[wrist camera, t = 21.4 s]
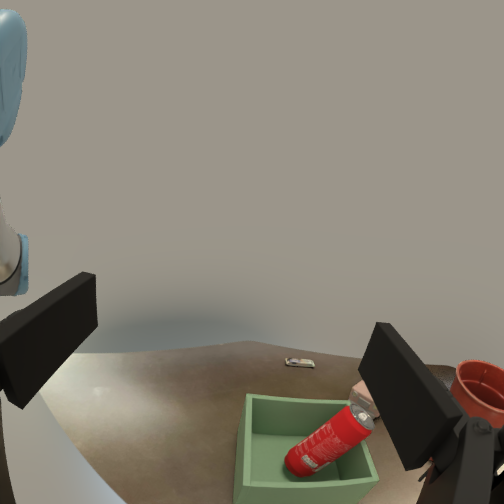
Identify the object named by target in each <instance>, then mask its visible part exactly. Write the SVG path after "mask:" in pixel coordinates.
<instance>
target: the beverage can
mask: <svg viewBox="0 0 504 504" xmlns="http://www.w3.org/2000/svg"><path fill="white" fill-rule="evenodd" d="M374 428H375V426H374V423H373V421H372V419H371V417H370V416H369V415H368V414H367V412H366V411H365V410H364V409H362V408H361V407H360V406H358V405H357V404H354V403H352V404H350V405H349V406H346V407H344V408H343V409H342V410H341V411H339V412H338V413H337V414H336V415H335V416H333V417H332V418H331V419H330V420H328V421H327V422H326V423H325V424H323V425H322V426H321V427H320V428H318V429H317V430H316V431H314V432H313V433H312V434H310V435H309V436H308V437H306V438H305V439H304V440H302V441H301V442H300V443H298V444H297V445H295V446H294V447H293V448H291V449H290V450H289V451H288V453H287V455H286V456H285V458H284V463H285V466H286V468H287V469H288V471H289V472H290V473H291V474H293V475H294V476H296V477H299V478H302V477H306V476H311V475H313V474H315V473H316V472H318V471H319V470H321V469H323V468H324V467H326V466H327V465H329V464H330V463H332V462H333V461H335V460H336V459H338V458H339V457H341V456H342V455H343V454H345V453H346V452H348V451H349V450H350V449H352V448H353V447H354V446H356V445H357V444H358V443H360V442H361V441H362V440H364V439H365V438H366V437H367V436H369V435H370V434H371V431H372V430H373V429H374Z"/></svg>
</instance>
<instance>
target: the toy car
mask: <svg viewBox="0 0 504 504" xmlns="http://www.w3.org/2000/svg"><path fill="white" fill-rule="evenodd" d="M349 400H350V402H351V404H352V403H354V404H357V405H358V406H360V407H361V408H362V409H364V410H365V411H366V412H367V414H368V415H369V416H370V417H371V419H374V418H375V417H377V418H378V417H379V416H380V414H379V412H378V410H377V407H376V405H375V403H374V401H373V399H372V397H371V395H370V393H369V391H368V389H367V387H366V385H365V383H364V381H363V380H362V381H360V382H359V383H358V384H356V385H355V386H353V387H352V390H351V393H350V396H349Z"/></svg>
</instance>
